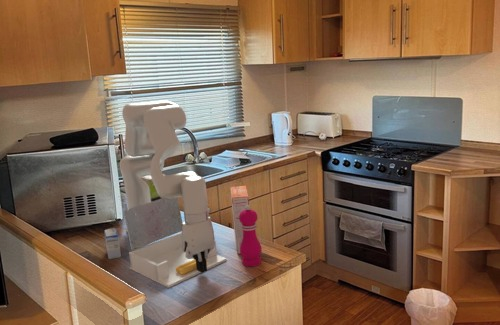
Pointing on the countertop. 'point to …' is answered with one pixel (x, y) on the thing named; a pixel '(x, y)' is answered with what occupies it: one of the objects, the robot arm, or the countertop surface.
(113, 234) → the medicine box
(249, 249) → the pepper mill
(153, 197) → the tea box
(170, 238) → the white shallow open box
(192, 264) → the golden yellow ridged bar
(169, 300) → the countertop surface
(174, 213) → the cover
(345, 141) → the countertop surface
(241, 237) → the cracker box
